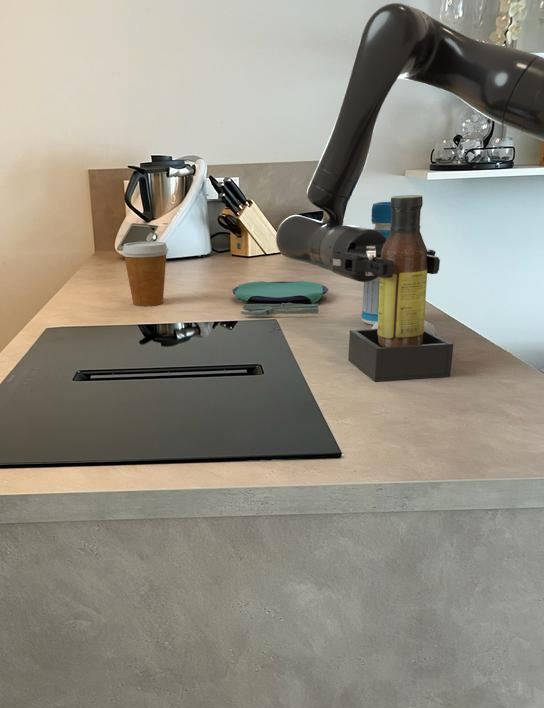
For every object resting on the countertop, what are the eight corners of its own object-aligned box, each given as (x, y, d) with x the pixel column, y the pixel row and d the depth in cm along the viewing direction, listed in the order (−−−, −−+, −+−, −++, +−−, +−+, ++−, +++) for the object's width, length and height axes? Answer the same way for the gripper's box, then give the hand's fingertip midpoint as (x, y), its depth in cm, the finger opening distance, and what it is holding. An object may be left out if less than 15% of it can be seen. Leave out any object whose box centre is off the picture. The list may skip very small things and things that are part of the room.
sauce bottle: (427, 343, 111) (442, 194, 103) (415, 353, 106) (429, 197, 98) (382, 338, 114) (393, 193, 106) (368, 348, 109) (378, 197, 101)
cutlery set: (327, 290, 171) (328, 279, 170) (328, 318, 144) (329, 305, 143) (236, 290, 174) (236, 280, 173) (221, 318, 147) (221, 306, 146)
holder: (417, 356, 117) (419, 325, 115) (450, 376, 106) (453, 343, 105) (348, 360, 116) (349, 330, 114) (374, 381, 105) (376, 348, 104)
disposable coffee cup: (152, 297, 170) (148, 240, 166) (180, 302, 164) (177, 242, 159) (116, 303, 165) (112, 244, 160) (143, 309, 158) (140, 247, 153)
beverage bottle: (357, 325, 137) (364, 205, 129) (363, 316, 144) (370, 201, 137) (407, 327, 134) (417, 204, 127) (411, 317, 142) (420, 200, 134)
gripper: (310, 229, 115) (366, 242, 100) (398, 223, 119) (464, 234, 104) (309, 281, 118) (363, 301, 103) (394, 274, 122) (458, 292, 107)
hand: (413, 267), depth 104 cm, fingers closed on sauce bottle, 6 cm apart
